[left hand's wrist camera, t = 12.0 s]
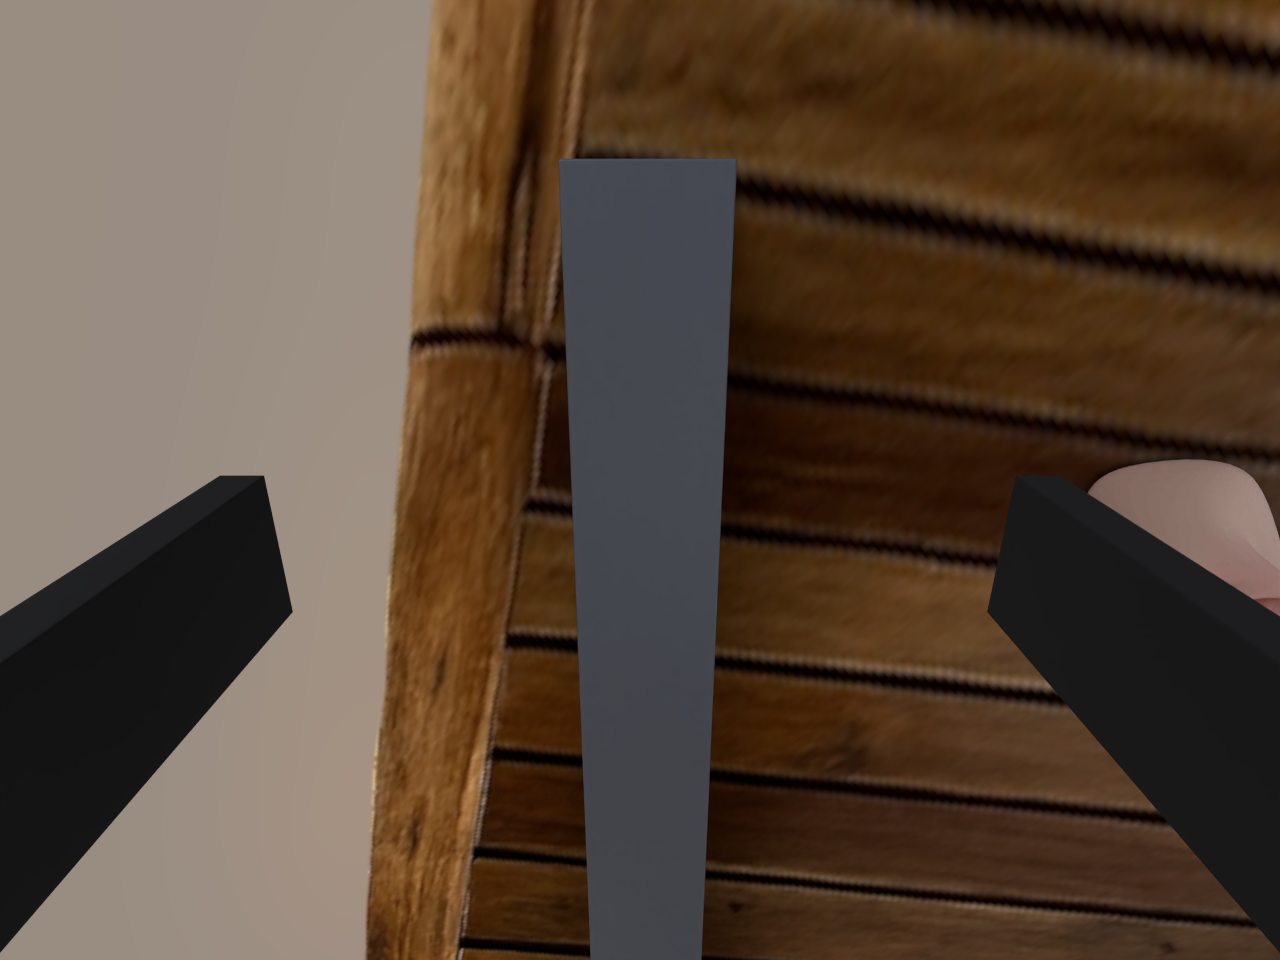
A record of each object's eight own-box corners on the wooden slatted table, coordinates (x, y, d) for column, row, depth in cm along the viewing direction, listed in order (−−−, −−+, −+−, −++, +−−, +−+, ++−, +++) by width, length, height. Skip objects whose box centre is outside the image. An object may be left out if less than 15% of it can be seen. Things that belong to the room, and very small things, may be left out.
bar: (578, 171, 31) (558, 158, 23) (712, 170, 31) (737, 158, 23) (605, 1027, 53) (599, 1171, 45) (684, 1027, 53) (692, 1171, 45)
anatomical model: (1089, 524, 33) (1350, 440, 31) (1043, 492, 36) (1275, 416, 35) (1124, 734, 37) (1353, 670, 36) (1080, 686, 41) (1286, 627, 39)
